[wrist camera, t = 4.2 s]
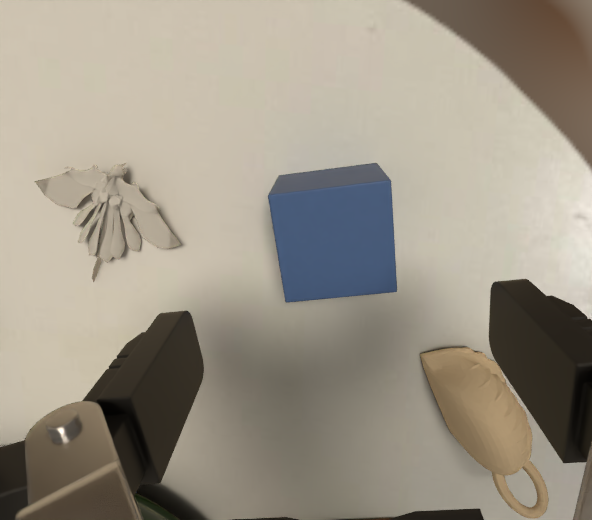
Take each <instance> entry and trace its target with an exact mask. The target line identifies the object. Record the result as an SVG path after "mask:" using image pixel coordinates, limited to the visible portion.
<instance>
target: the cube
mask: <svg viewBox="0 0 592 520" xmlns="http://www.w3.org/2000/svg"><path fill="white" fill-rule="evenodd" d="M268 199H269V205H270V211H271V217H272V223H273V229H274V235H275V241H276V247H277V253H278V260H279V266H280V272H281V278H282V284H283V290H284V296H285V301H286V302H296V301H307V300H317V299H328V298H338V297H349V296H359V295H369V294H380V293H390V292H397V281H396V263H395V244H394V226H393V208H392V189H391V180H390V179H389V178H388V176H387V175H386V174H385V173H384V171H383V170H382V169H381V168H380V166H379V165H378V164H377V163H372V164H365V165H357V166H349V167H341V168H334V169H326V170H318V171H310V172H303V173H295V174H287V175H280V176H278V178H277V180H276V182H275V184H274V186H273V188H272V189H271V191H270V193H269V195H268Z"/></svg>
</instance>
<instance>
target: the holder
mask: <svg viewBox="0 0 592 520" xmlns="http://www.w3.org/2000/svg"><path fill="white" fill-rule="evenodd" d="M389 519H392V518H375V519H350V520H389Z"/></svg>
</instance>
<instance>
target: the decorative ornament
mask: <svg viewBox="0 0 592 520" xmlns="http://www.w3.org/2000/svg"><path fill="white" fill-rule="evenodd" d="M420 357H421V360H422V364H423V367H424V370H425V373H426V375H427V378H428V381H429V384H430V386H431V389H432V391H433V393H434V396H435V398H436V401H437V403H438V405H439V408H440V410H441V412H442V415H443V417H444V419H445V422H446V424H447V426H448V428H449V430H450V432H451V433H452V434H453V435H454V436H455V438H456V439H457V440H458V442H459V443H460V444H461V445H462V446H463V447H464V449H465V450H466V451H467V452H468V453H469V454H470V455H471V456H472V457H473V458H474V459H475V460H476V461H477V462H478V463H479V464H481V465H482V466H483V467H485V468H486V469H488V470H490V471H492V476H493V481H494V483H495V486H496V488H497V490H498V492H499V494H500V495H501V497H502V498H503V499H504V501H505V502H506V503H507V504H508V505H509V506H510V507H511V508H512V509H513V510H514V511H516V512H517V513H519V514H520V515H522V516H524V517H527V518H538V517H540V516H542V515H543V514H544V513H545V511H546V509H547V506H548V493H547V488H546V485H545V483H544V480H543V478H542V476H541V474H540V473H539V471H538V470H537V469H536V467H535V466H534V465H533V464H532V463H531V462H530V461H529V459H530V456H531V443H532V432H531V428H530V426H529V423H528V420H527V416H526V413H525V411H524V410H523V408H522V407H521V406H520V405H519V403H518V401H517V399H516V398H515V396H514V394H513V393H512V392H511V390H510V389H509V387H508V386H507V385H506V381H505V379H504V377H503V376H502V372H501V369H500V367H499V365H498V364H497V363H496V362H495V361H492V360H490V359H487V357H486V355H485V354H484V353H482V352H474V351H473V350H472V349H470V348H467V347H464V348H446V349H441V350H436V351H432V352H427V353H423V354H420ZM521 468H523V469H524V470H525V471H526V472H527V474H528V475H529V476H530V478H531V479H532V481H533V483H534V485H535V488H536V491H537V497H538V498H537V503H536V505H535V506H534V507H526V506H524V505H522V504H520V503H519V502H518V501H517V500H516V499H515V498H514V496H513V495H512V493H511V492H510V490H509V488H508V486H507V484H506V481H505V476H504V475H511V474H514V473H516V472H518V471H519V470H520V469H521Z"/></svg>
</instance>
